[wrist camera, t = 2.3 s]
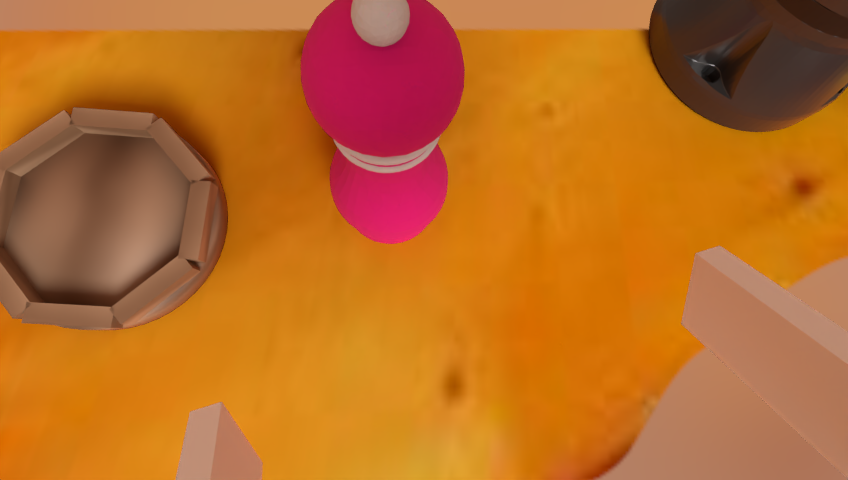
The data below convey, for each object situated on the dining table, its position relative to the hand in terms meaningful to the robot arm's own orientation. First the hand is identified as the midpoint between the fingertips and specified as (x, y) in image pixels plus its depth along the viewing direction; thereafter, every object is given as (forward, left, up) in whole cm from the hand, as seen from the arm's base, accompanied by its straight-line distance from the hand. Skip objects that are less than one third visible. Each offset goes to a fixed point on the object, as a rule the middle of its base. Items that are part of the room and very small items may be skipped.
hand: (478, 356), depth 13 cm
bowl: (+21, -7, -18) cm, 29 cm away
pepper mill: (+3, -10, -19) cm, 21 cm away
